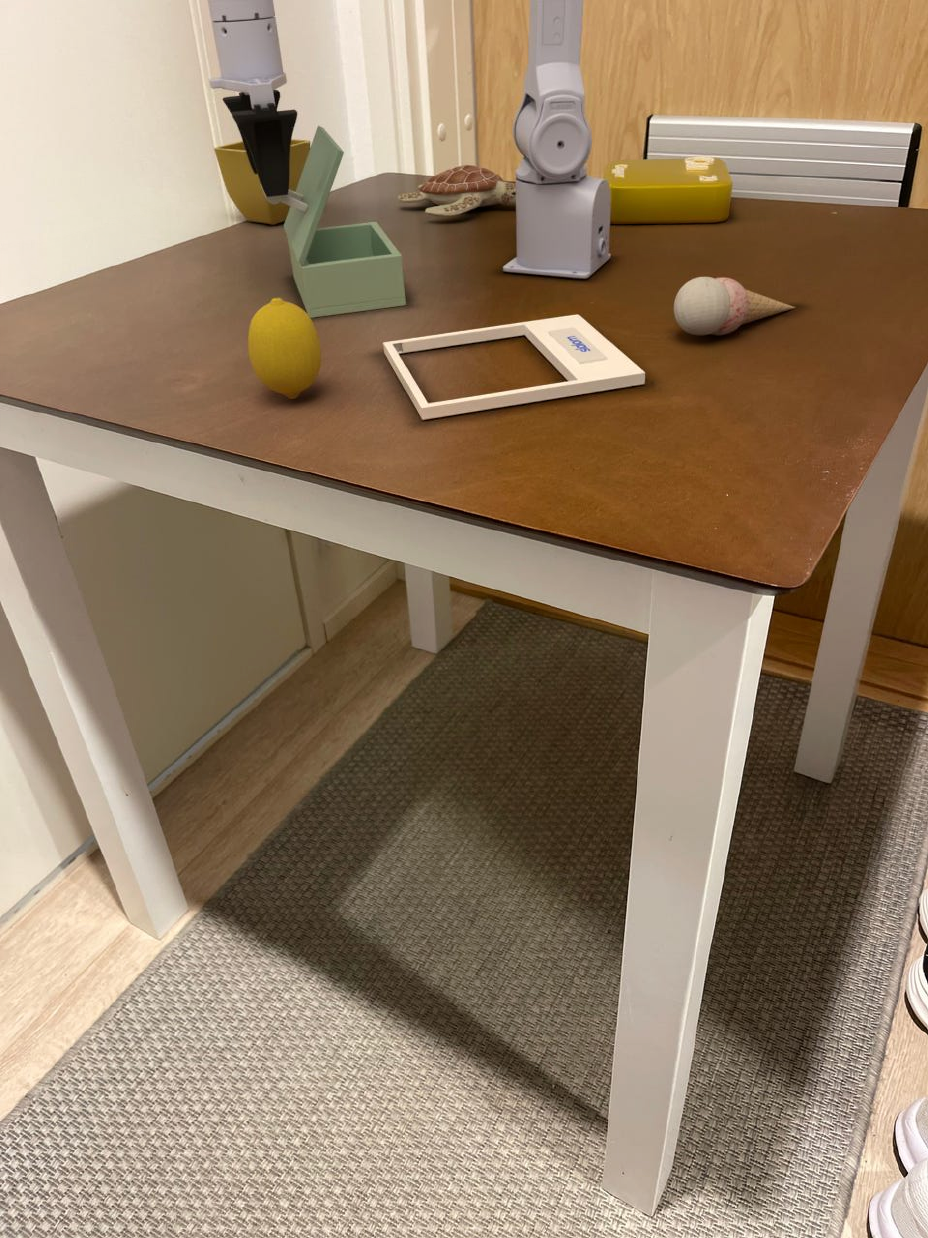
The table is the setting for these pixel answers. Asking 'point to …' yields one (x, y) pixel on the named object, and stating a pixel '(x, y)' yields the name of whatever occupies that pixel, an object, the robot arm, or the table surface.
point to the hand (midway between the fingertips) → (270, 182)
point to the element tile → (669, 190)
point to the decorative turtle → (463, 191)
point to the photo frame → (558, 339)
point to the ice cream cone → (720, 306)
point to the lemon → (284, 348)
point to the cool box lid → (310, 193)
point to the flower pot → (257, 181)
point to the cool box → (349, 271)
